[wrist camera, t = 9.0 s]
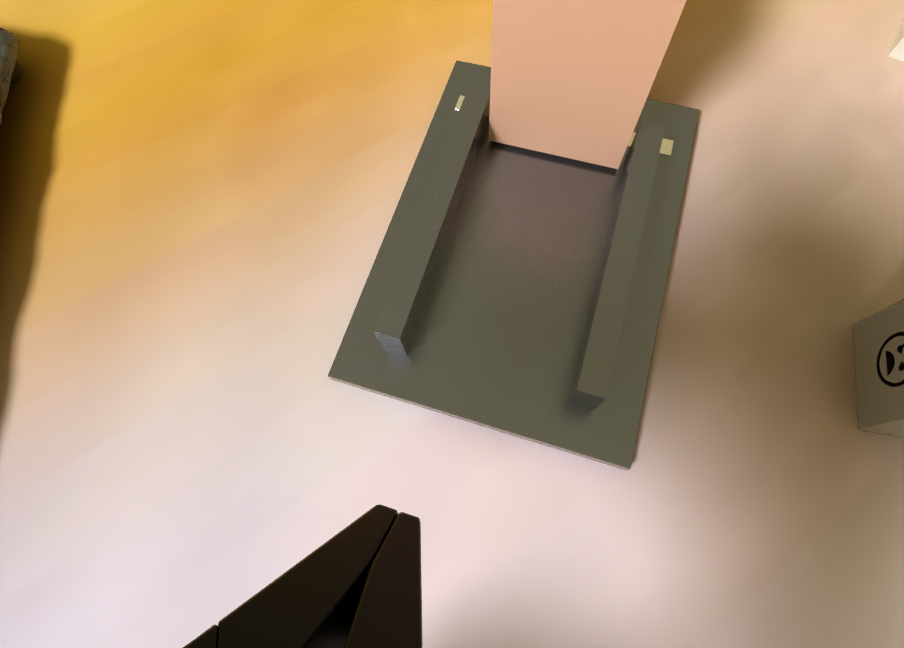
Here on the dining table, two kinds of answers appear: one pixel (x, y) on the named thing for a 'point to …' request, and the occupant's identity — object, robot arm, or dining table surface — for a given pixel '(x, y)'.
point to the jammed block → (575, 73)
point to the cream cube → (898, 45)
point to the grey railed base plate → (523, 279)
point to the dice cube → (880, 371)
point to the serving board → (8, 65)
